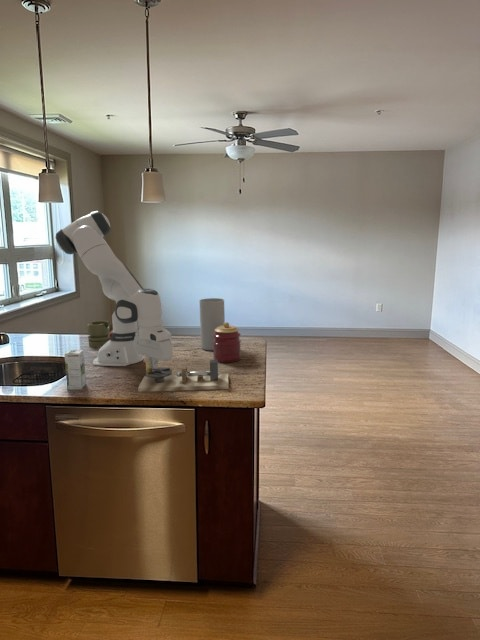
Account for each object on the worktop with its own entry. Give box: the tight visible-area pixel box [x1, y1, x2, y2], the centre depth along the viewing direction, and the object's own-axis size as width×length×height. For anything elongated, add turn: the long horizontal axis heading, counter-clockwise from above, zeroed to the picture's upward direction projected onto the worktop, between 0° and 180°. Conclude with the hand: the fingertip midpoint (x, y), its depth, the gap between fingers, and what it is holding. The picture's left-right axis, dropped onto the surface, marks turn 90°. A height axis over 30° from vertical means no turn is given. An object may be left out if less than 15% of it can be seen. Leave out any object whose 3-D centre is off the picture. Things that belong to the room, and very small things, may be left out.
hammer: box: [176, 359, 221, 381], centre depth 168 cm, size 17×4×7 cm, turn 92°
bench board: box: [137, 373, 229, 393], centre depth 168 cm, size 34×14×4 cm, turn 92°
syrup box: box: [64, 349, 87, 391], centre depth 166 cm, size 6×6×14 cm
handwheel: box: [145, 359, 173, 378], centre depth 167 cm, size 10×10×6 cm
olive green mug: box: [86, 320, 111, 348], centre depth 232 cm, size 11×12×11 cm
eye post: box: [181, 362, 188, 384], centre depth 168 cm, size 1×7×6 cm, turn 2°
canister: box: [212, 321, 242, 363], centre depth 200 cm, size 13×13×18 cm
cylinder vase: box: [199, 297, 226, 352], centre depth 220 cm, size 12×12×25 cm
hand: (153, 367), depth 163 cm, fingers closed
